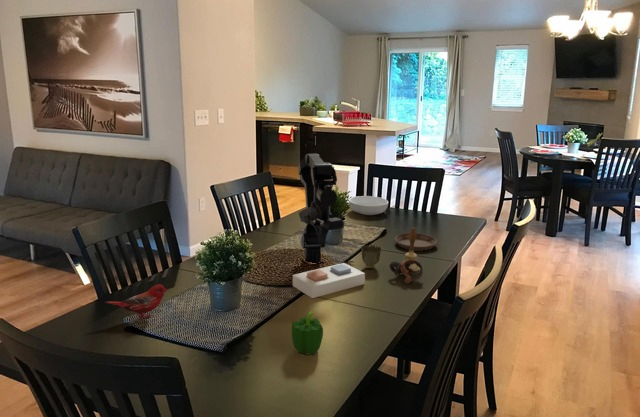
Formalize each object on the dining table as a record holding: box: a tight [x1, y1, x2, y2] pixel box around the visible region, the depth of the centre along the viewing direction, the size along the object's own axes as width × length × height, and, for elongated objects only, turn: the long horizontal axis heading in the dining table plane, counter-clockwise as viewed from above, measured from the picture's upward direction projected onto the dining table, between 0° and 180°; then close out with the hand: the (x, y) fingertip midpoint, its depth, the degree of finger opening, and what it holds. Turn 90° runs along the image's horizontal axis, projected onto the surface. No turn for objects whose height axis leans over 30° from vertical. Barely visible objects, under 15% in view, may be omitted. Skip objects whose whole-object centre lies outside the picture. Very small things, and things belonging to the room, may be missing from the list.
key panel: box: [292, 262, 366, 299], centre depth 176 cm, size 12×22×4 cm, turn 125°
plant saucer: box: [394, 232, 438, 252], centre depth 220 cm, size 18×18×3 cm
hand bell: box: [402, 227, 420, 272], centre depth 192 cm, size 8×8×16 cm
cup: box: [360, 244, 382, 270], centre depth 192 cm, size 8×7×8 cm
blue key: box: [331, 263, 351, 276], centre depth 178 cm, size 5×5×3 cm
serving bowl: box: [348, 195, 389, 216], centre depth 270 cm, size 21×21×7 cm
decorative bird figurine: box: [104, 283, 169, 319], centre depth 149 cm, size 3×18×10 cm, turn 107°
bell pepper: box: [291, 311, 324, 355], centre depth 133 cm, size 8×8×10 cm
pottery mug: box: [388, 259, 424, 284], centre depth 183 cm, size 12×10×8 cm
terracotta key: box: [306, 269, 328, 282], centre depth 173 cm, size 5×5×3 cm
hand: (321, 242), depth 181 cm, fingers closed
